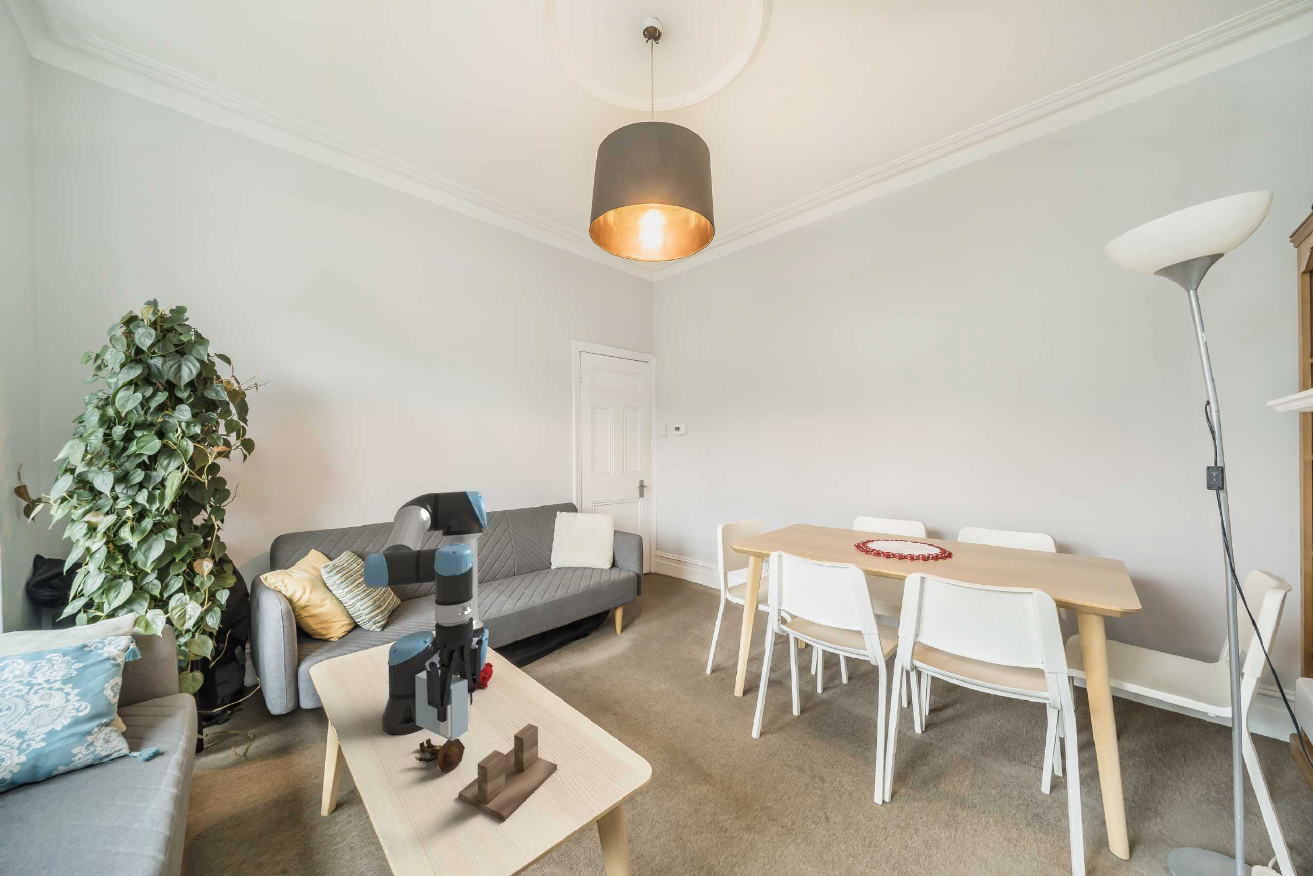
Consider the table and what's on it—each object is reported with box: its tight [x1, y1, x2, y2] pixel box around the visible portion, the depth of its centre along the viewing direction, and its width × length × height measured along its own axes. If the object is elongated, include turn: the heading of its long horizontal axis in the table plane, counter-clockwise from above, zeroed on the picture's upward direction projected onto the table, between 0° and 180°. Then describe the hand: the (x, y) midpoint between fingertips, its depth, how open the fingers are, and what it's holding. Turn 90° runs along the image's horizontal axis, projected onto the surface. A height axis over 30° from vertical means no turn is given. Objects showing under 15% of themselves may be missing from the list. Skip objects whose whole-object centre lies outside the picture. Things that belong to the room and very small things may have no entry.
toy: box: [414, 737, 466, 773], centre depth 117 cm, size 10×7×15 cm
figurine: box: [475, 662, 494, 689], centre depth 154 cm, size 6×8×15 cm
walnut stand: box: [458, 723, 558, 822], centre depth 109 cm, size 14×17×9 cm
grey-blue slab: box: [416, 670, 469, 741], centre depth 102 cm, size 12×4×11 cm, turn 62°
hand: (455, 727), depth 100 cm, fingers closed on grey-blue slab, 4 cm apart
